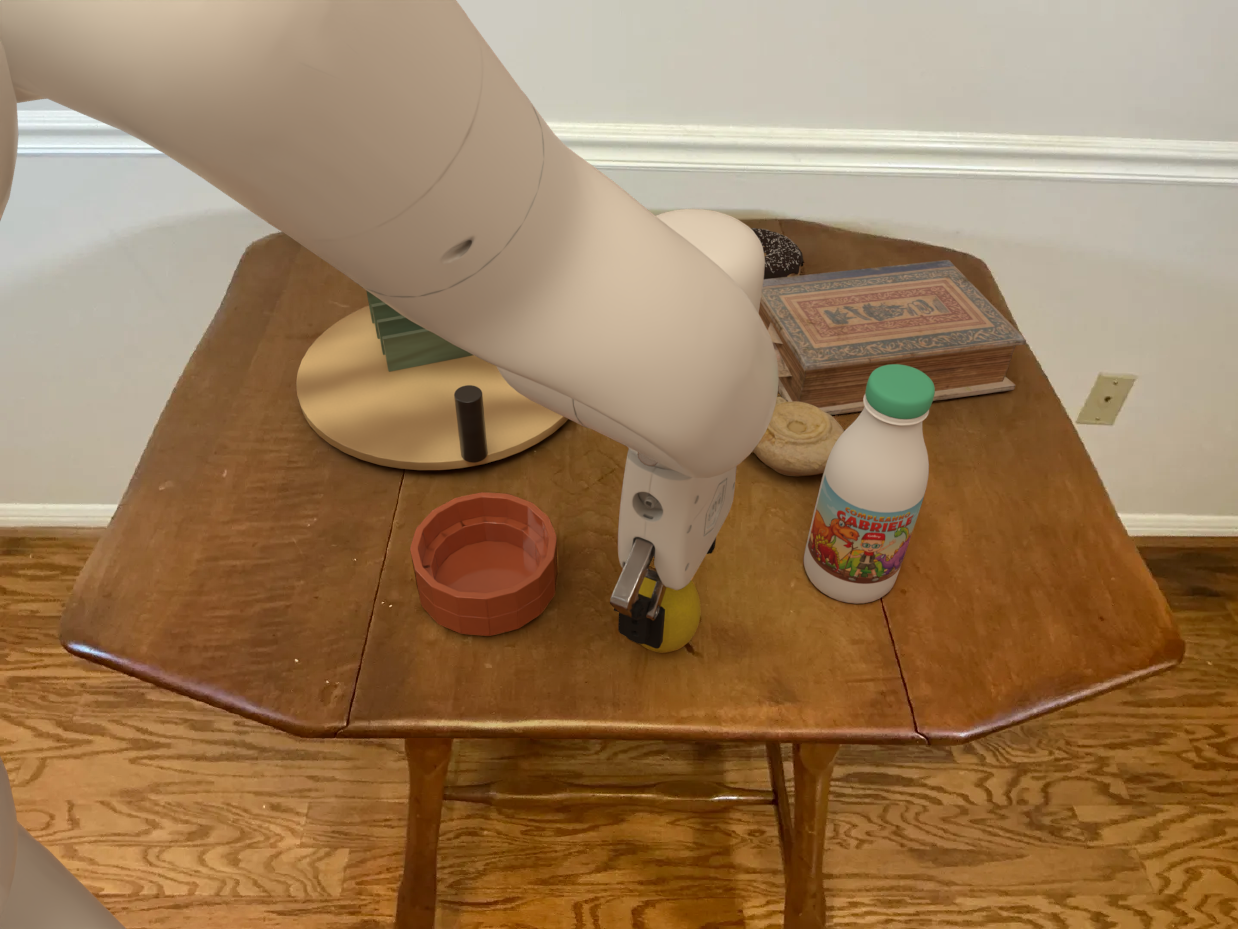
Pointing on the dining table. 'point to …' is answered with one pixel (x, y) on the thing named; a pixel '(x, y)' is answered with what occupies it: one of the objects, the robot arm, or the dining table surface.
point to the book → (884, 333)
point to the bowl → (485, 563)
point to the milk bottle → (872, 490)
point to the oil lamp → (798, 439)
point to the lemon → (676, 615)
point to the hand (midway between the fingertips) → (668, 590)
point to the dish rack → (412, 396)
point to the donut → (779, 254)
